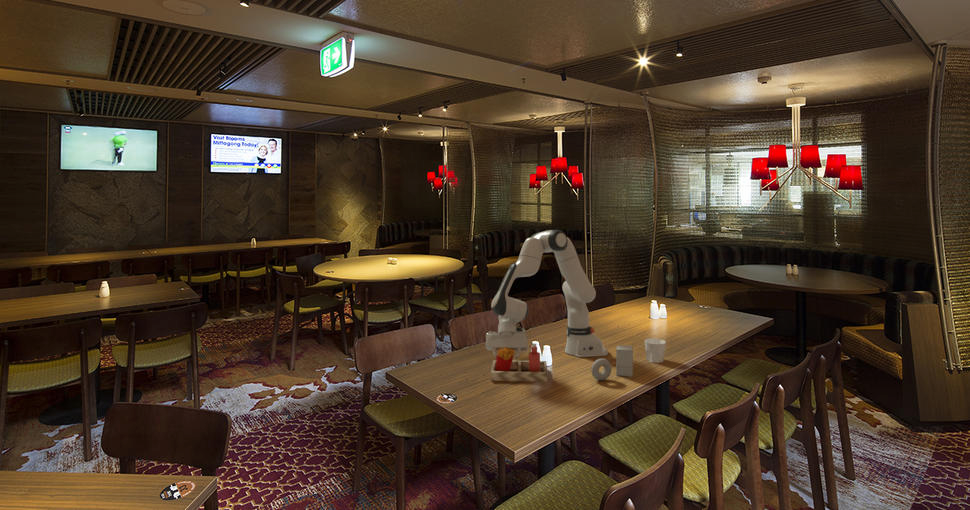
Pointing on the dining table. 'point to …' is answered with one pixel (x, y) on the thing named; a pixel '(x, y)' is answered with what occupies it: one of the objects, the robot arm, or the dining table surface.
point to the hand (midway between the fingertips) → (506, 358)
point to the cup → (654, 350)
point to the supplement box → (624, 360)
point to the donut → (606, 371)
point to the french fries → (504, 359)
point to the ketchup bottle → (534, 360)
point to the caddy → (520, 375)
